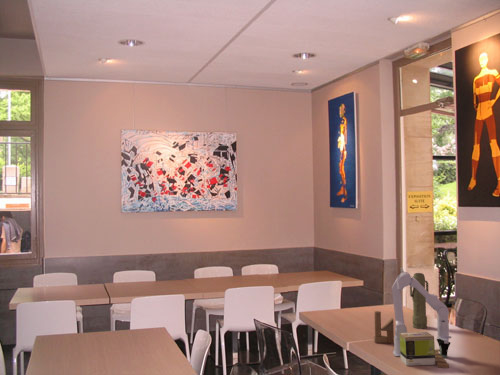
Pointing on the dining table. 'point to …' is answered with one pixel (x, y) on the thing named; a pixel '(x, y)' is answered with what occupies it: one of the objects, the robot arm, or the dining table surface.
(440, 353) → the grey-green block
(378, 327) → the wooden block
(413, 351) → the tea box
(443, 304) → the robot arm
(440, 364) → the walnut board
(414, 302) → the thermos
